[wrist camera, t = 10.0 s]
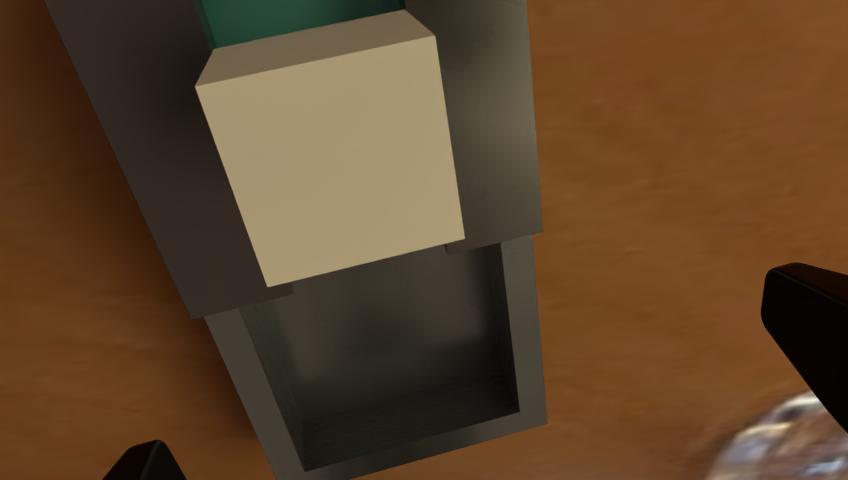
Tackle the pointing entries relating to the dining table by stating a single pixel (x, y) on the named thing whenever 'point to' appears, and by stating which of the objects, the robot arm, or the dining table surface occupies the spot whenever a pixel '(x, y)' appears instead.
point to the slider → (330, 131)
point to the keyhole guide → (350, 287)
